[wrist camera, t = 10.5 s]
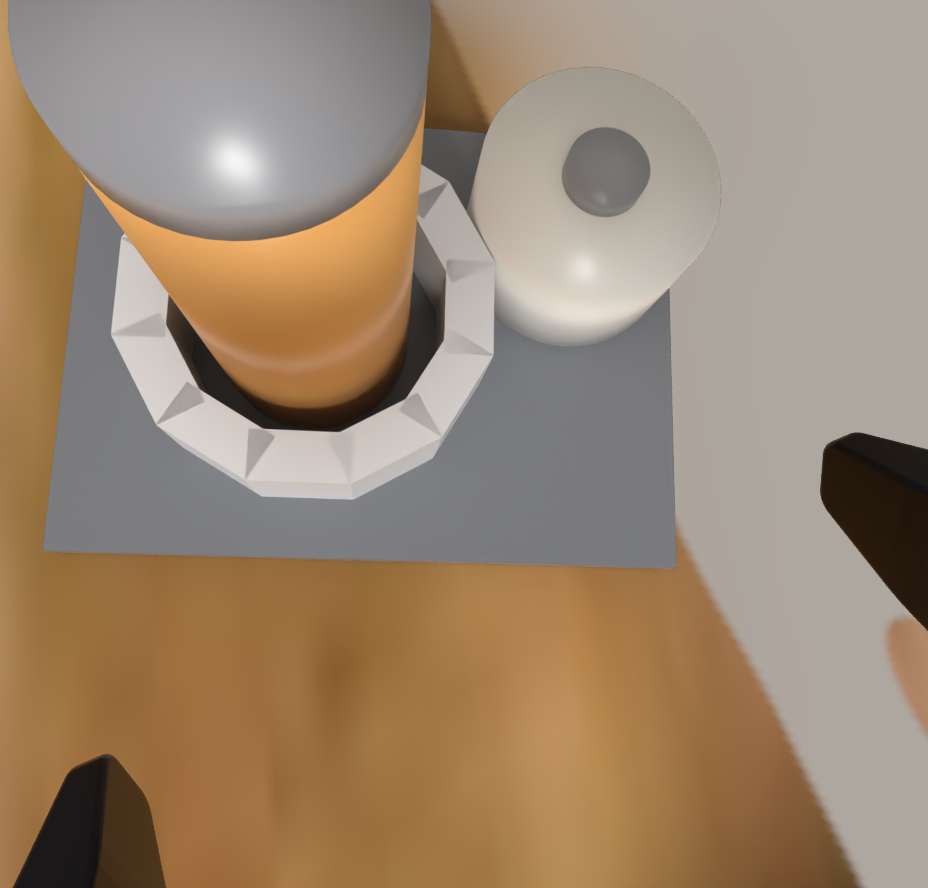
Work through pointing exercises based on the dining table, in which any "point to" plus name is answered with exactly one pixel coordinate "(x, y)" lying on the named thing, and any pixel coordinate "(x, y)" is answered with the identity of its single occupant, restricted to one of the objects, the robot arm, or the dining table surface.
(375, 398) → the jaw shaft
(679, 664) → the dining table surface
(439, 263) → the housing
